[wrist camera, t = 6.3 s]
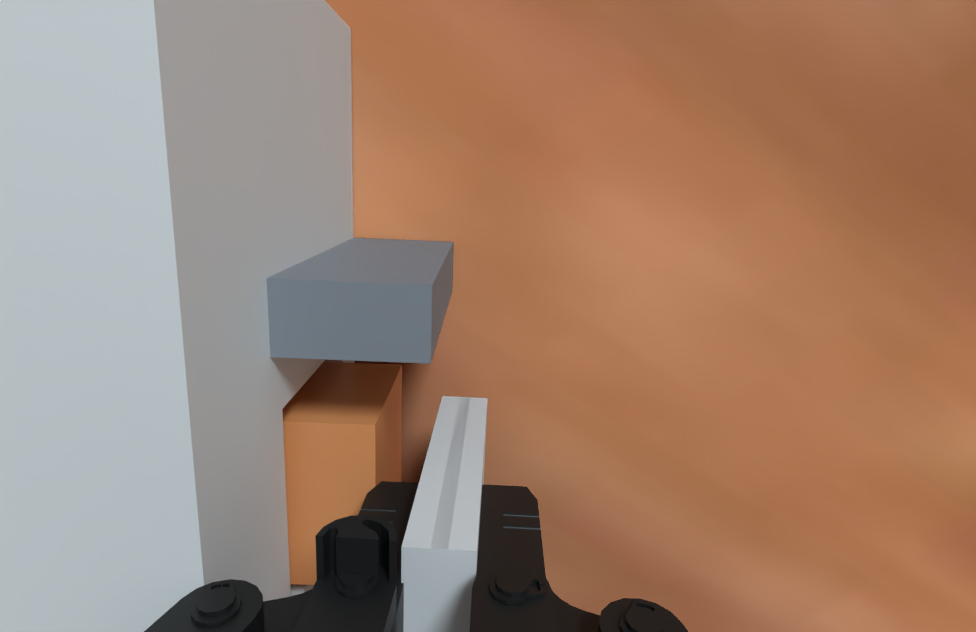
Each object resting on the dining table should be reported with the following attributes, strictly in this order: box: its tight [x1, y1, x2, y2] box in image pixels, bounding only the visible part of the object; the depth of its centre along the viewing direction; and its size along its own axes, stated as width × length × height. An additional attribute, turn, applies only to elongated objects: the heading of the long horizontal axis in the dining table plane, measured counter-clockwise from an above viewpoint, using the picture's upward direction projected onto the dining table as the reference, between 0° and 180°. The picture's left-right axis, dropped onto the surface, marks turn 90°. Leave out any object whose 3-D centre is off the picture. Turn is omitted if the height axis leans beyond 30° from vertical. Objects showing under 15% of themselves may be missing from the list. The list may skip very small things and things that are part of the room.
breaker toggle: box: [282, 362, 402, 585], centre depth 15 cm, size 8×4×4 cm, turn 88°
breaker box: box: [0, 0, 454, 632], centre depth 13 cm, size 13×16×10 cm
